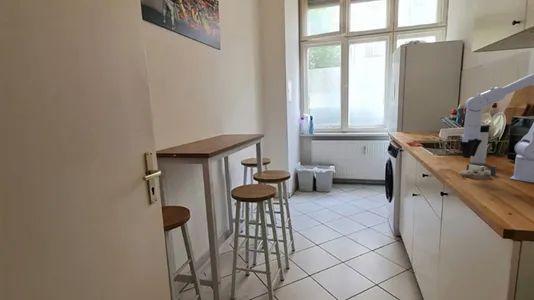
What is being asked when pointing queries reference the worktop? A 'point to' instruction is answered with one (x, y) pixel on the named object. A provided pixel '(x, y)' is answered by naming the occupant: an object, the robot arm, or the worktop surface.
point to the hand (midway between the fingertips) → (469, 156)
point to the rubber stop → (493, 170)
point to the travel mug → (481, 147)
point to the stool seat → (476, 174)
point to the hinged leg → (476, 168)
